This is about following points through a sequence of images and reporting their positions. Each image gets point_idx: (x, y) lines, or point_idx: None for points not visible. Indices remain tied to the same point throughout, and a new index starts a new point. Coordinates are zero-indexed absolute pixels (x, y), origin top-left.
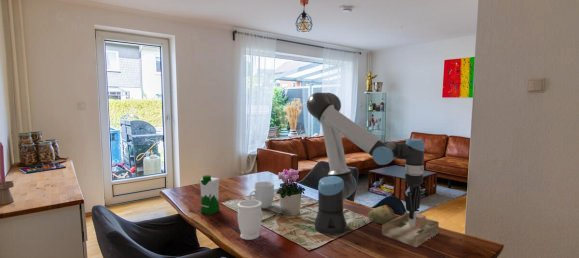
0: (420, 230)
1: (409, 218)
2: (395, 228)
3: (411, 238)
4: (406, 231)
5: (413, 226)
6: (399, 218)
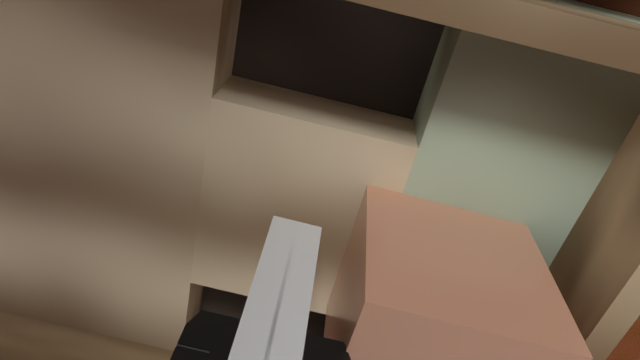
0: (314, 304)
1: (200, 313)
2: (113, 39)
3: (2, 275)
4: (135, 196)
5: (350, 240)
6: (444, 23)
